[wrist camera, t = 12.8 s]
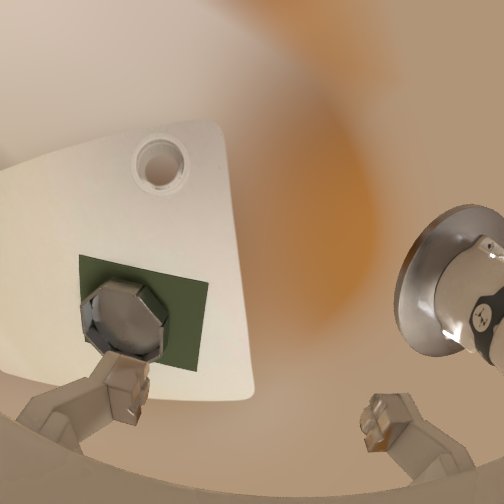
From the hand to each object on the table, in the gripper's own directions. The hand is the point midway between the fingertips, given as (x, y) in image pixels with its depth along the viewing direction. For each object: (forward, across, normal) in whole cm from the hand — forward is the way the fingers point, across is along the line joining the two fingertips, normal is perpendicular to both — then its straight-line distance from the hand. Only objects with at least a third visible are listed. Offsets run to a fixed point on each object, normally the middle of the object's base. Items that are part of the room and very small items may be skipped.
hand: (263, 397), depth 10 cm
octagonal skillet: (+29, +16, +22) cm, 40 cm away
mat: (+29, +15, +18) cm, 37 cm away
